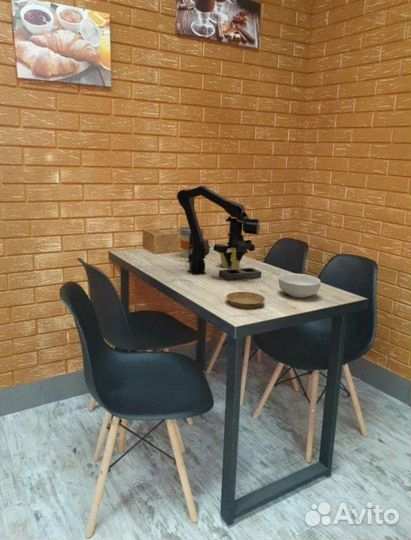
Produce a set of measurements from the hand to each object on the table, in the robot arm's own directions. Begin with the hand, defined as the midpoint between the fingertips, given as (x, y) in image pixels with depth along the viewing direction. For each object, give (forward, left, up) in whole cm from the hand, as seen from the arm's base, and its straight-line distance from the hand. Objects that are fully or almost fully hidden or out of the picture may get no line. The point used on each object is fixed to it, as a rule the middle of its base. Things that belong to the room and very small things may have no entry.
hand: (233, 266), depth 207 cm
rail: (+4, 0, -6) cm, 7 cm away
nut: (0, 0, -1) cm, 1 cm away
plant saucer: (-14, -33, -6) cm, 36 cm away
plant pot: (+9, +19, -6) cm, 22 cm away
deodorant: (-4, +32, -6) cm, 33 cm away
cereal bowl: (+13, -31, -6) cm, 34 cm away
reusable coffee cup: (0, +44, -6) cm, 44 cm away
